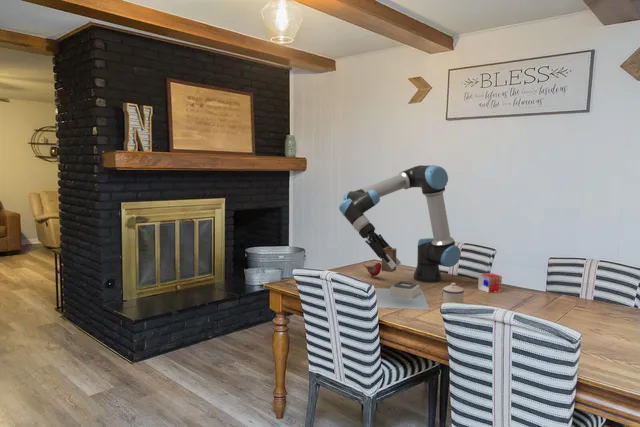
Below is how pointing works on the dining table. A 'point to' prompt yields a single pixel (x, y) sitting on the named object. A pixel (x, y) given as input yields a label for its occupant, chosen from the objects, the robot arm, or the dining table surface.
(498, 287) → the puzzle cube
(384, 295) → the mat
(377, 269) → the decorative bird figurine
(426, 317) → the dining table surface
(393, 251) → the walnut pillar
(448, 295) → the teacup with lid
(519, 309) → the dining table surface
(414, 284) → the base brick
